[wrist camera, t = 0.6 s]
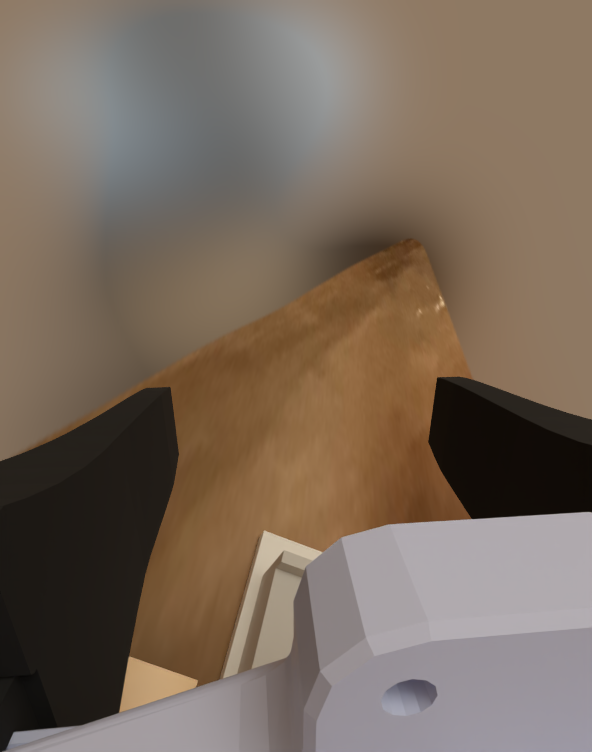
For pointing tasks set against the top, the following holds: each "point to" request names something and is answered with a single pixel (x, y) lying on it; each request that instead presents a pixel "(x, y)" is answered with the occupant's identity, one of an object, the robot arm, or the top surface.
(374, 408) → the top surface
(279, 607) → the display stand
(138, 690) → the wooden block with panels
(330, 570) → the robot arm
